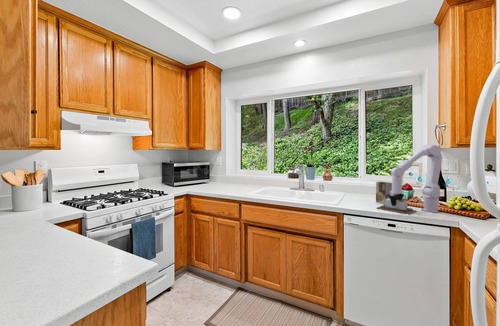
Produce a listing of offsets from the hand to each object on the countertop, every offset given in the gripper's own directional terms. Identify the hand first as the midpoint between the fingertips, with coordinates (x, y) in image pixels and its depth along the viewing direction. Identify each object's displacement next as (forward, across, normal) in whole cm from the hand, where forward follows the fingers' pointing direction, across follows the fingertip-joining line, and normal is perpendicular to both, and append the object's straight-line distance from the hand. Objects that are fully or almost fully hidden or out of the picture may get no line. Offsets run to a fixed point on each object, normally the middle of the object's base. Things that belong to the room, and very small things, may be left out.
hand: (396, 205), depth 164 cm
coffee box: (+4, -15, -15) cm, 22 cm away
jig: (+3, 0, 0) cm, 3 cm away
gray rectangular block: (+3, 0, 0) cm, 3 cm away
